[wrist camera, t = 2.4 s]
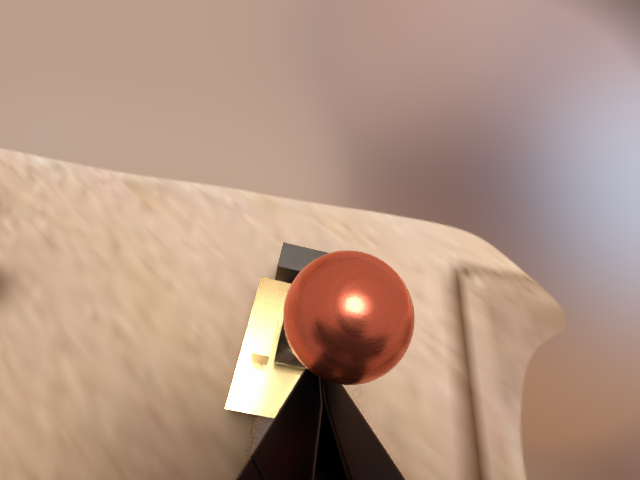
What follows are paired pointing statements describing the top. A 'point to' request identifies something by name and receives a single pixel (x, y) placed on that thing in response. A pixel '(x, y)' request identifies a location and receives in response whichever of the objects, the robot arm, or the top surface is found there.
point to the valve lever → (346, 319)
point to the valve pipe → (267, 348)
